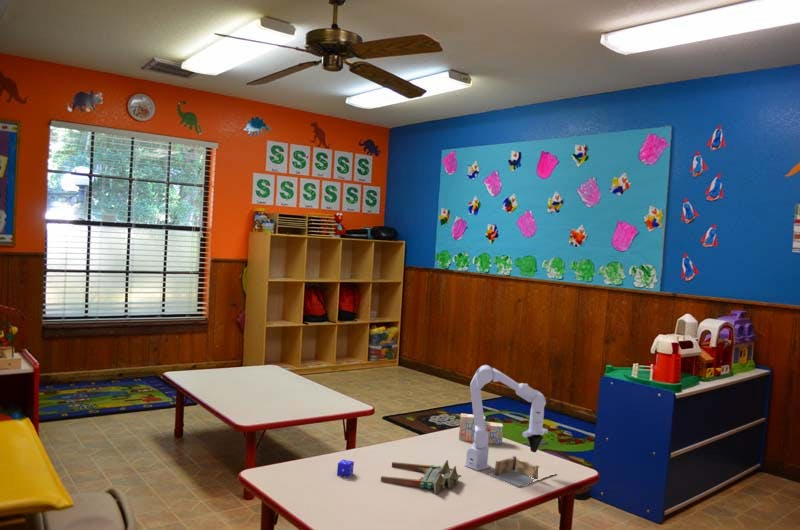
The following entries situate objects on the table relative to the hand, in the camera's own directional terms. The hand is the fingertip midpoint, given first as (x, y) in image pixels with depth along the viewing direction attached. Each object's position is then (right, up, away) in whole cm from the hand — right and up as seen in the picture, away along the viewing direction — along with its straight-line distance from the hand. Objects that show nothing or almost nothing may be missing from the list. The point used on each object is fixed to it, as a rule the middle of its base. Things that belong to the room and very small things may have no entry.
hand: (533, 451), depth 264 cm
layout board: (-5, -9, -3) cm, 11 cm away
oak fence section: (-4, -8, -5) cm, 11 cm away
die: (-80, -3, -20) cm, 83 cm away
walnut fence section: (-13, -8, -4) cm, 16 cm away
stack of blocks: (-18, -7, +41) cm, 45 cm away
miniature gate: (-49, -6, -18) cm, 53 cm away
